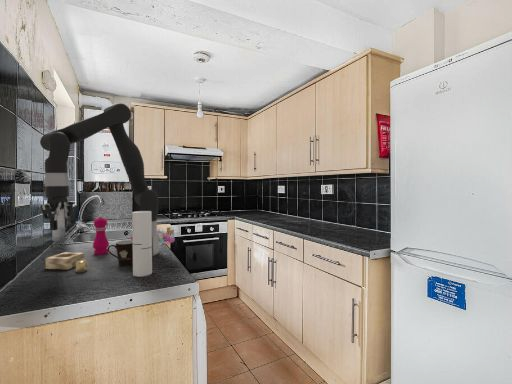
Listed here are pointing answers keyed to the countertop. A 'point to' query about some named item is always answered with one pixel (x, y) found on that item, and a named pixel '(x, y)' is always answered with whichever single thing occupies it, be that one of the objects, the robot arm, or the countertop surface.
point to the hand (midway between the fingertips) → (58, 228)
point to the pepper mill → (100, 236)
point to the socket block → (64, 260)
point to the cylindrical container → (142, 243)
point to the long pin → (59, 227)
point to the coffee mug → (124, 252)
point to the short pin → (81, 266)
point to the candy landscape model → (164, 236)
